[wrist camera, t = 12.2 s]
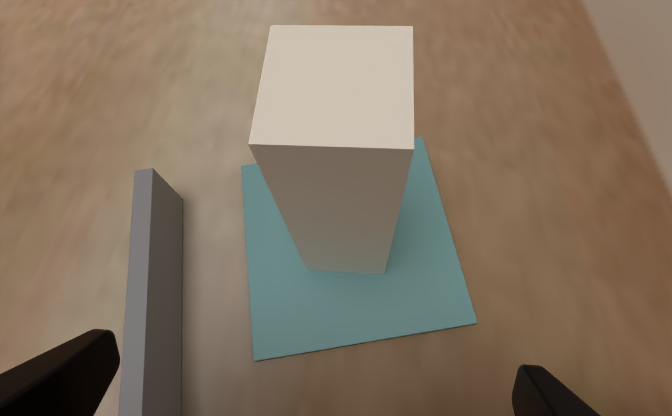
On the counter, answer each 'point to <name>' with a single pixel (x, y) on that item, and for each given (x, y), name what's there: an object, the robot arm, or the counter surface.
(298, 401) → the counter surface
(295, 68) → the tall cream pillar
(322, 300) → the mat
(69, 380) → the robot arm
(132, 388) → the long gray bar
